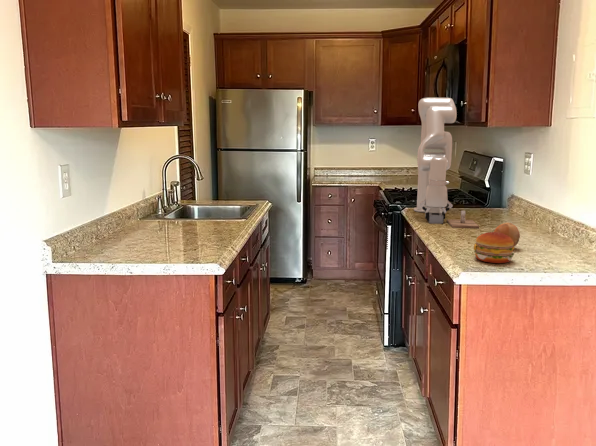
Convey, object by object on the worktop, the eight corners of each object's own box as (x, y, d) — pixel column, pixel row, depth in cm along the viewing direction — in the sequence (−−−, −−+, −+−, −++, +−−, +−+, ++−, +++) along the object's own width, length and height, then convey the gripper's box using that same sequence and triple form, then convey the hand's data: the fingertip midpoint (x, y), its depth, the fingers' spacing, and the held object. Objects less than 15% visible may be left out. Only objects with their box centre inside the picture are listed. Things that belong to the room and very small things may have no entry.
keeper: (446, 221, 267) (447, 208, 266) (472, 222, 265) (473, 208, 264) (451, 227, 251) (452, 213, 250) (479, 228, 250) (480, 214, 249)
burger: (498, 267, 183) (500, 238, 181) (464, 259, 194) (466, 231, 192) (521, 262, 191) (523, 233, 189) (487, 254, 201) (489, 227, 200)
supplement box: (424, 217, 277) (425, 192, 274) (428, 215, 283) (429, 191, 281) (439, 219, 273) (440, 193, 271) (442, 216, 280) (444, 192, 277)
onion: (496, 244, 217) (498, 219, 216) (522, 248, 211) (524, 222, 209) (487, 248, 210) (489, 222, 208) (514, 252, 204) (516, 226, 202)
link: (427, 220, 269) (427, 212, 268) (440, 220, 268) (441, 212, 267) (429, 223, 261) (429, 215, 260) (442, 223, 260) (443, 215, 260)
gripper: (454, 183, 264) (452, 219, 267) (417, 182, 266) (416, 218, 269) (457, 184, 257) (454, 222, 260) (419, 184, 259) (417, 221, 262)
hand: (435, 220), depth 265 cm, fingers closed on link, 6 cm apart
